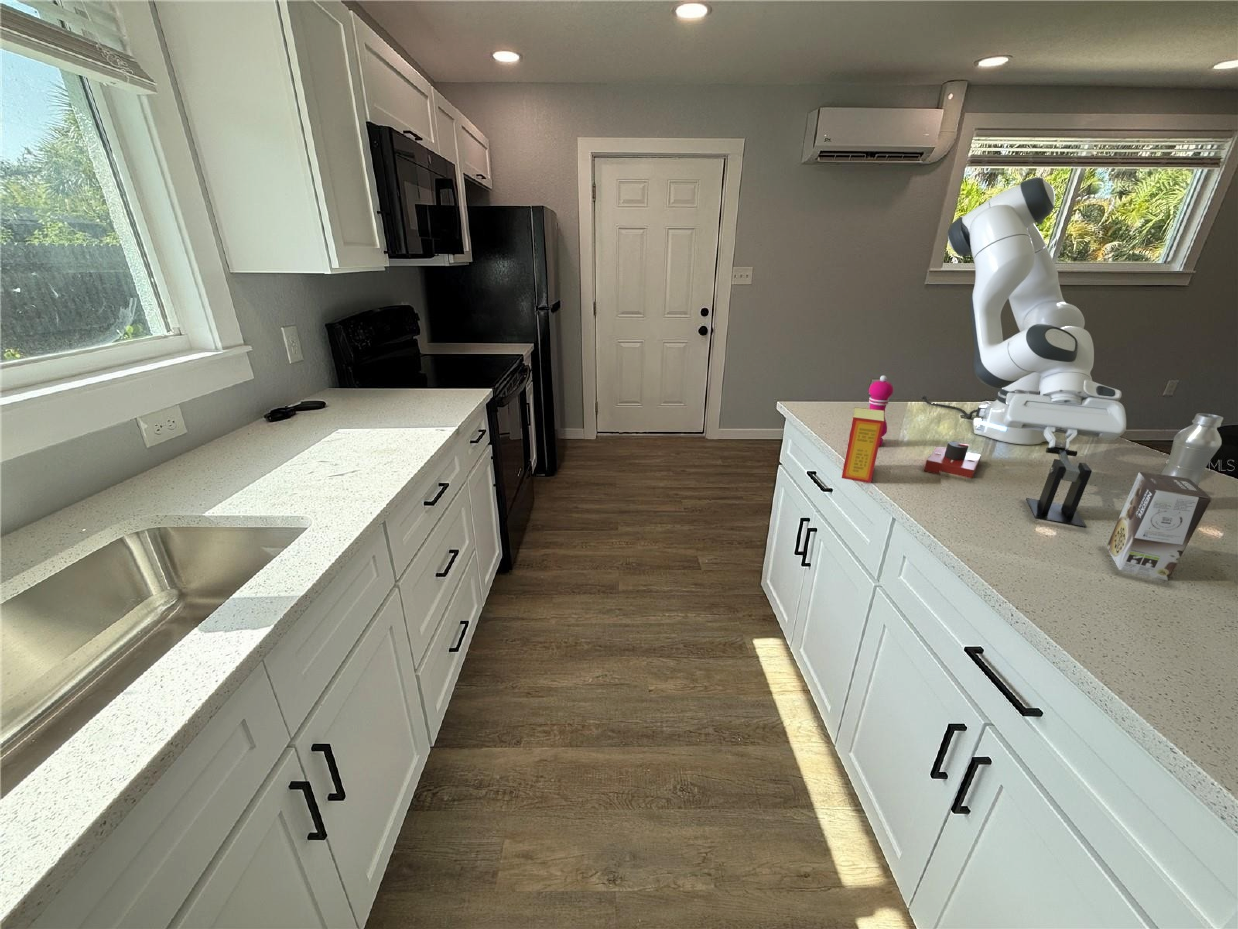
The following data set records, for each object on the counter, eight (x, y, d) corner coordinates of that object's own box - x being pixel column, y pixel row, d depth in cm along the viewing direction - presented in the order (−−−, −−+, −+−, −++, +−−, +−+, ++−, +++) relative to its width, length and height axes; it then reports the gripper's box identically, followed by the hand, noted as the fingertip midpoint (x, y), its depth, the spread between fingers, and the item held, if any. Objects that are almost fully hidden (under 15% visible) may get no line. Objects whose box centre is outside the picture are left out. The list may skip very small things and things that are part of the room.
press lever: (1044, 453, 107) (1048, 443, 106) (1073, 457, 105) (1077, 447, 104) (1052, 478, 99) (1057, 468, 98) (1084, 483, 97) (1089, 473, 96)
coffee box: (1168, 586, 81) (1214, 499, 74) (1116, 573, 84) (1155, 489, 78) (1151, 559, 88) (1191, 477, 82) (1103, 549, 91) (1138, 469, 85)
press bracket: (1024, 502, 108) (1042, 453, 104) (1070, 510, 105) (1091, 459, 100) (1033, 522, 100) (1053, 469, 96) (1084, 531, 97) (1107, 477, 92)
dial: (942, 457, 125) (946, 443, 123) (946, 452, 128) (950, 439, 126) (962, 461, 122) (966, 447, 120) (966, 457, 125) (970, 443, 123)
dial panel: (934, 456, 134) (937, 445, 132) (978, 465, 127) (981, 454, 126) (923, 470, 125) (926, 459, 123) (970, 481, 118) (974, 469, 117)
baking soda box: (843, 464, 129) (855, 405, 122) (871, 468, 126) (884, 409, 120) (841, 478, 121) (853, 416, 114) (870, 483, 118) (884, 419, 112)
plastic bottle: (1183, 512, 103) (1228, 422, 96) (1141, 499, 109) (1180, 413, 101) (1195, 506, 106) (1240, 417, 98) (1153, 493, 112) (1192, 409, 104)
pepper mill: (887, 448, 139) (902, 378, 131) (859, 446, 141) (873, 377, 133) (879, 439, 146) (894, 373, 138) (854, 438, 147) (866, 372, 139)
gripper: (1011, 381, 111) (1004, 434, 108) (1131, 392, 102) (1129, 451, 98) (1002, 395, 117) (995, 447, 113) (1116, 407, 108) (1113, 463, 104)
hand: (1058, 449), depth 106 cm, fingers closed, pressing on press lever
